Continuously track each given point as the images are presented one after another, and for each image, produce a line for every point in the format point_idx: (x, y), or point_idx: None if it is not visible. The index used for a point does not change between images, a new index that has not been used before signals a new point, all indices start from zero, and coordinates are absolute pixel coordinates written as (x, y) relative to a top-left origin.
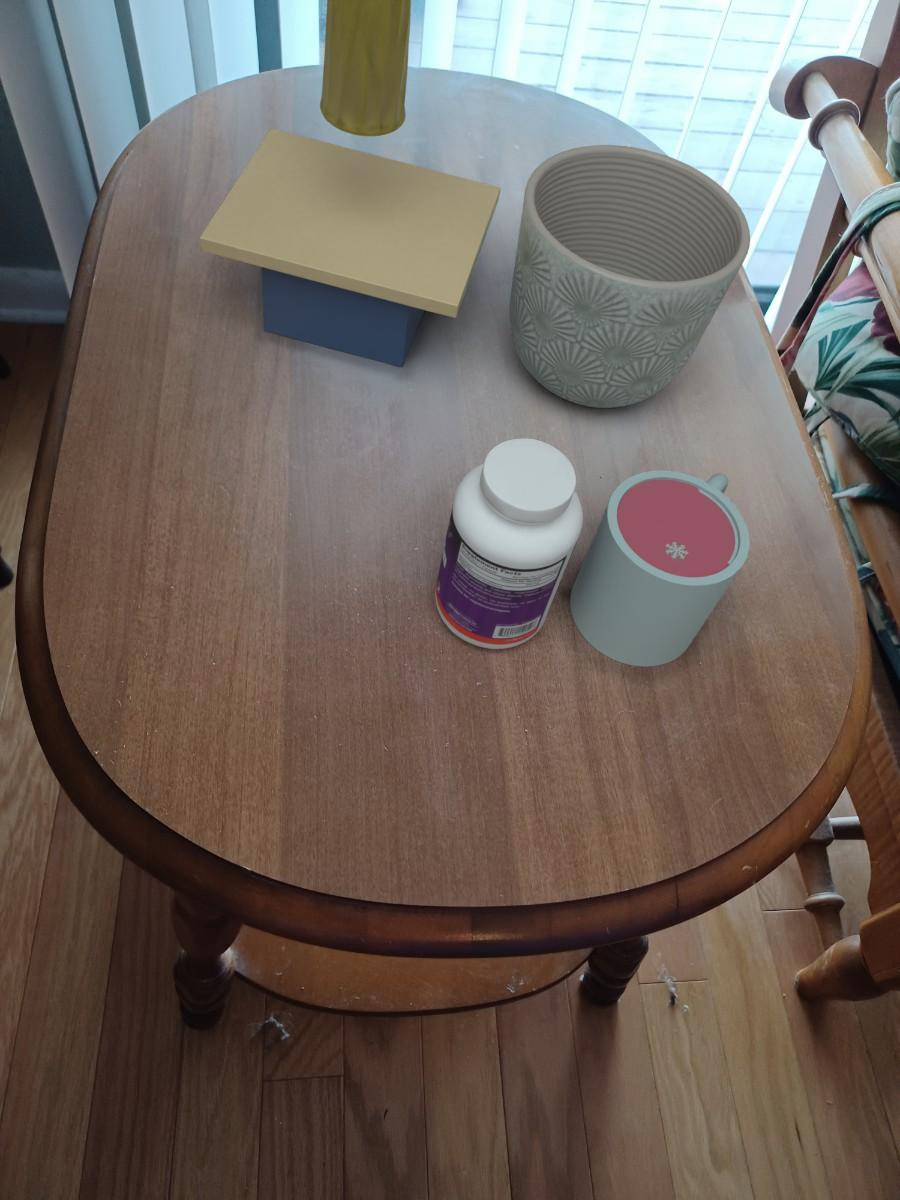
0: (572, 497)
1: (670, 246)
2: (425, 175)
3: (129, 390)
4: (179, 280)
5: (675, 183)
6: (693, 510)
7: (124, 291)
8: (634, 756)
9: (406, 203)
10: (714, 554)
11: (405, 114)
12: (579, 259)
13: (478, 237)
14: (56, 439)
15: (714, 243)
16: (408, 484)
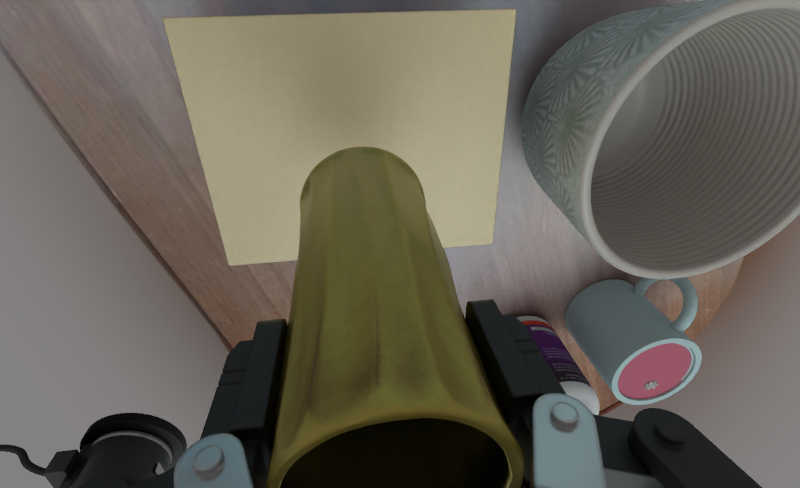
0: (595, 411)
1: (732, 33)
2: (411, 31)
3: (235, 288)
4: (182, 159)
5: (791, 18)
6: (668, 356)
7: (149, 195)
8: (593, 375)
9: (405, 109)
10: (674, 377)
11: (423, 194)
12: (634, 273)
13: (499, 133)
14: (221, 339)
15: (796, 83)
16: (455, 282)
